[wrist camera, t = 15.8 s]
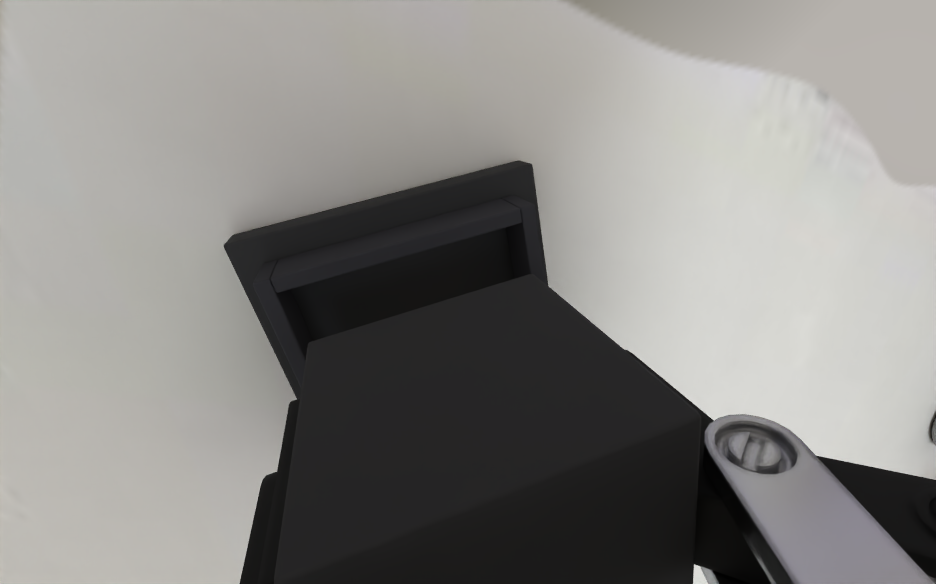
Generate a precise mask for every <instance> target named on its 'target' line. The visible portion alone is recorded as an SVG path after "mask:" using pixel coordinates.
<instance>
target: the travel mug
mask: <svg viewBox="0 0 936 584" xmlns="http://www.w3.org/2000/svg"><path fill="white" fill-rule="evenodd" d="M932 439H933V442H934V443H935V445H936V418H935V420H934V423H933V426H932Z"/></svg>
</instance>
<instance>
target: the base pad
mask: <svg viewBox="0 0 936 584" xmlns="http://www.w3.org/2000/svg"><path fill="white" fill-rule="evenodd" d="M224 248H225V250H226V253H227V255H228V257H229V259H230V261H231V263H232V265H233V267H234V269H235V271H236V273H237V275H238V277H239V279H240V282H241V284H242V286H243V288H244V290H245V292H246V294H247V296H248V298H249V300H250V302H251V304H252V306H253V308H254V311H255V313H256V315H257V317H258V319H259V321H260V323H261V325H262V327H263V329H264V331H265V333H266V335H267V338H268V340H269V342H270V344H271V346H272V348H273V350H274V352H275V354H276V356H277V358H278V360H279V362H280V364H281V367H282V369H283V371H284V373H285V375H286V377H287V379H288V381H289V383H290V385H291V387H292V389H293V391H294V394H295V396H296V398H297V399H300V395H301V389H302V382H303V375H304V368H305V361H306V354H307V347H308V343H310V342H312V341H315V340H318V339H321V338H325V337H328V336H331V335H334V334H338V333H341V332H344V331H347V330H350V329H354V328H357V327H360V326H363V325H367V324H370V323H373V322H376V321H380V320H383V319H386V318H389V317H393V316H396V315H399V314H402V313H406V312H409V311H412V310H415V309H418V308H422V307H425V306H428V305H431V304H435V303H438V302H441V301H444V300H448V299H451V298H454V297H457V296H461V295H464V294H467V293H470V292H473V291H477V290H480V289H483V288H486V287H490V286H493V285H496V284H499V283H503V282H506V281H509V280H512V279H516V278H519V277H522V276H525V275H529V274H534V275H535V276H536V277H538V278H539V279H540V280H541V281H542V282H543V283H545V284H546V285H547V286H548V280H547V273H546V265H545V258H544V250H543V243H542V235H541V227H540V220H539V212H538V205H537V197H536V189H535V182H534V174H533V167H532V164H530V163H526V162H522V161H515V162H511V163H507V164H503V165H500V166H496V167H492V168H488V169H484V170H480V171H477V172H473V173H469V174H465V175H461V176H457V177H454V178H450V179H446V180H442V181H438V182H434V183H431V184H427V185H423V186H419V187H415V188H411V189H408V190H404V191H400V192H396V193H392V194H388V195H385V196H381V197H377V198H373V199H369V200H365V201H362V202H358V203H354V204H350V205H346V206H342V207H339V208H335V209H331V210H327V211H323V212H320V213H316V214H312V215H308V216H304V217H300V218H297V219H293V220H289V221H285V222H281V223H277V224H274V225H270V226H266V227H262V228H258V229H254V230H251V231H247V232H243V233H239V234H235V235H233V236H231V238H230V239H229V240H228V241H227V242H226V243H225V244H224Z"/></svg>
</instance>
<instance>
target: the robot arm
mask: <svg viewBox="0 0 936 584" xmlns="http://www.w3.org/2000/svg"><path fill="white" fill-rule="evenodd" d="M625 351H626V352H627V353H629V354H630V355H631V356H632V357H633V358H635V359H636V360H637V361H638V362H639V363H641V364H642V365H643V366H644V367H645V368H647V369H648V370H649V371H650V372H651V373H653V374H654V375H655V376H656V377H657V378H659V379H660V380H661V381H662V382H663V383H665V384H666V385H667V386H668V387H669V388H671V389H672V390H673V391H674V392H675V393H677V394H678V395H679V396H680V397H681V398H683V399H684V400H685V401H686V402H687V403H689V404H690V405H691V406H692V407H693V408H695V409H696V410H697V411H698V412H699V414H700V415H701V436H700V455H699V474H698V494H697V513H696V532H695V551H694V564H695V565H698V566H700V567H701V569H702V572H703V574H704V576H705V578H706V580H707V582H708V584H936V480H933V479H928V478H923V477H918V476H913V475H908V474H903V473H898V472H893V471H888V470H884V469H879V468H874V467H869V466H864V465H859V464H854V463H849V462H844V461H839V460H834V459H829V458H824V457H819V456H816V455H815V454H814V453H813V452H812V451H811V450H810V449H809V448H808V447H807V446H806V445H805V444H804V443H803V441H802V440H801V439H800V438H798V437H797V436H796V435H795V434H794V433H792V432H791V431H790V430H789V429H787V428H785V427H783V426H781V425H780V424H778V423H776V422H774V421H771V420H768V419H765V418H762V417H758V416H751V415H745V414H740V415H728V416H724V417H720V418H718V419H716V420H715V421H714V420H712V419H711V418H710V417H709V416H707V415H706V414H705V413H704V412H703V411H701V410H700V409H699V408H698V407H697V406H695V405H694V404H693V403H692V402H691V401H689V400H688V399H687V398H686V397H684V396H683V395H682V394H681V393H680V392H678V391H677V390H676V389H675V388H674V387H672V386H671V385H670V384H669V383H668V382H666V381H665V380H664V379H663V378H661V377H660V376H659V375H658V374H657V373H655V372H654V371H653V370H652V369H651V368H649V367H648V366H647V365H646V364H645V363H643V362H642V361H641V360H640V359H638V358H637V357H636V356H635V355H634V354H632V353H631V352H629V351H628V350H625ZM299 402H300V399H297V400H294V401H291V402H290V404H289V409H288V414H287V420H286V425H285V431H284V437H283V442H282V448H281V453H280V459H279V465H278V470H277V472H275V473H272V474H269V475H266V476H265V478H264V479H263V481H262V484H261V487H260V492H259V497H258V501H257V506H256V511H255V515H254V520H253V524H252V529H251V534H250V538H249V543H248V548H247V552H246V557H245V562H244V566H243V571H242V575H241V580H240V584H274V575H275V568H276V561H277V555H278V548H279V541H280V534H281V527H282V520H283V513H284V506H285V499H286V492H287V485H288V478H289V472H290V465H291V458H292V451H293V444H294V437H295V430H296V423H297V416H298V409H299Z"/></svg>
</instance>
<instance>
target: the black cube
mask: <svg viewBox="0 0 936 584" xmlns="http://www.w3.org/2000/svg"><path fill="white" fill-rule="evenodd" d="M700 436H701V415H700V414H699V412H698V411H697V410H696V409H695V408H693V407H692V406H691V405H690V404H689V403H687V402H686V401H685V400H684V399H683V398H681V397H680V396H679V395H678V394H677V393H675V392H674V391H673V390H672V389H671V388H669V387H668V386H667V385H666V384H665V383H663V382H662V381H661V380H660V379H659V378H657V377H656V376H655V375H654V374H653V373H651V372H650V371H649V370H648V369H647V368H645V367H644V366H643V365H642V364H641V363H639V362H638V361H637V360H636V359H635V358H633V357H632V356H631V355H630V354H629V353H627V352H626V351H625V350H624V349H623V348H621V347H620V346H619V345H618V344H617V343H615V342H614V341H613V340H612V339H611V338H609V337H608V336H607V335H606V334H605V333H603V332H602V331H601V330H600V329H599V328H597V327H596V326H595V325H594V324H593V323H591V322H590V321H589V320H588V319H587V318H585V317H584V316H583V315H582V314H581V313H579V312H578V311H577V310H576V309H575V308H573V307H572V306H571V305H570V304H569V303H567V302H566V301H565V300H564V299H563V298H561V297H560V296H559V295H558V294H557V293H555V292H554V291H553V290H552V289H551V288H549V287H548V286H547V285H546V284H545V283H543V282H542V281H541V280H540V279H539V278H538V277H536V276H535V275H534V274H529V275H525V276H522V277H519V278H516V279H512V280H509V281H506V282H503V283H499V284H496V285H493V286H490V287H486V288H483V289H480V290H477V291H473V292H470V293H467V294H464V295H461V296H457V297H454V298H451V299H448V300H444V301H441V302H438V303H435V304H431V305H428V306H425V307H422V308H418V309H415V310H412V311H409V312H406V313H402V314H399V315H396V316H393V317H389V318H386V319H383V320H380V321H376V322H373V323H370V324H367V325H363V326H360V327H357V328H354V329H350V330H347V331H344V332H341V333H338V334H334V335H331V336H328V337H325V338H321V339H318V340H315V341H312V342H310V343H308V347H307V354H306V361H305V368H304V375H303V382H302V389H301V395H300V402H299V409H298V416H297V423H296V430H295V437H294V444H293V451H292V458H291V465H290V472H289V478H288V485H287V492H286V499H285V506H284V513H283V520H282V527H281V534H280V541H279V548H278V555H277V561H276V568H275V575H274V584H693V570H694V551H695V532H696V513H697V494H698V474H699V455H700Z"/></svg>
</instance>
